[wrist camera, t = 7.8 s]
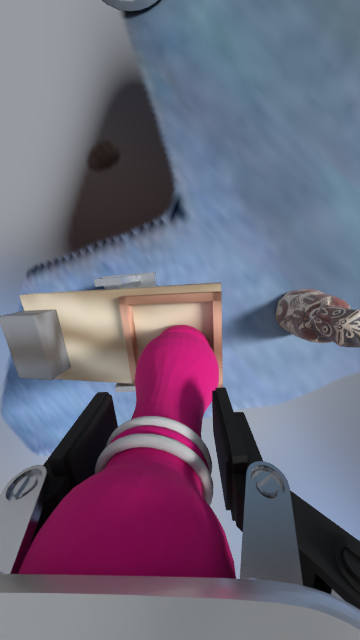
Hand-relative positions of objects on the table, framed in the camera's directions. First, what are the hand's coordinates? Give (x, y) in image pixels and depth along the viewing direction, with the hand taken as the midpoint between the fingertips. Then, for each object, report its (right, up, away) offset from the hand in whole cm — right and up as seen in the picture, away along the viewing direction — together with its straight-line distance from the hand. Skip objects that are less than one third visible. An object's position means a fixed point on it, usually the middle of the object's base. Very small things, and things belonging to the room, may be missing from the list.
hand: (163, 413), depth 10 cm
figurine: (+20, +7, +19) cm, 28 cm away
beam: (-6, +3, +13) cm, 15 cm away
